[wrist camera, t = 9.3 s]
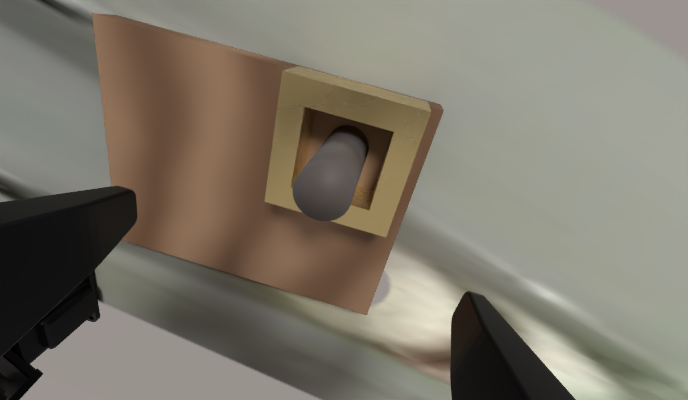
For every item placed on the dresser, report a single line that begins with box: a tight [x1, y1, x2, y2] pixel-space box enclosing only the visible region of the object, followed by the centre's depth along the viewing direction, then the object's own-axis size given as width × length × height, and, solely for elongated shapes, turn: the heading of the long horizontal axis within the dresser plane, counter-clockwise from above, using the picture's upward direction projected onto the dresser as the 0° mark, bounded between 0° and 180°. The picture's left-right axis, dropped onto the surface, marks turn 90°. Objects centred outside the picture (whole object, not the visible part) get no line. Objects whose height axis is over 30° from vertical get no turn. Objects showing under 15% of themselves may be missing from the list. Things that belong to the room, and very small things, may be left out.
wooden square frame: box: [264, 66, 431, 237], centre depth 16 cm, size 6×6×2 cm
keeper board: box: [92, 13, 444, 315], centre depth 17 cm, size 18×14×8 cm
